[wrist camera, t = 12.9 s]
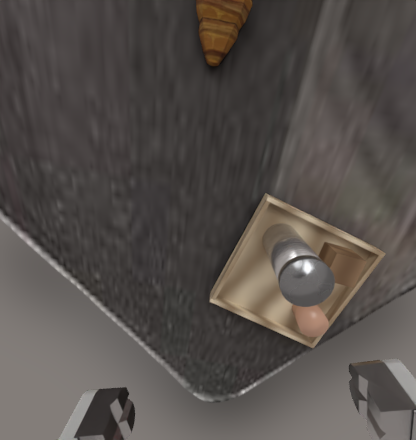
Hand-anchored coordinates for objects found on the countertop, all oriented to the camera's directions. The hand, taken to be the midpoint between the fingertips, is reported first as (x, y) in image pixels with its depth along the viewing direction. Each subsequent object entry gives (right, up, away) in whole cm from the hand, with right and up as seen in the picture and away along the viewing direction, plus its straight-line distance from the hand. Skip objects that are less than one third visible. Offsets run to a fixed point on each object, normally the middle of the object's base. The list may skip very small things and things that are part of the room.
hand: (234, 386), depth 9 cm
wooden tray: (+11, -1, +31) cm, 33 cm away
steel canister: (+9, +3, +27) cm, 28 cm away
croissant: (+1, +33, +22) cm, 39 cm away
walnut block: (+17, +1, +27) cm, 32 cm away
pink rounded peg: (+14, -7, +29) cm, 33 cm away
